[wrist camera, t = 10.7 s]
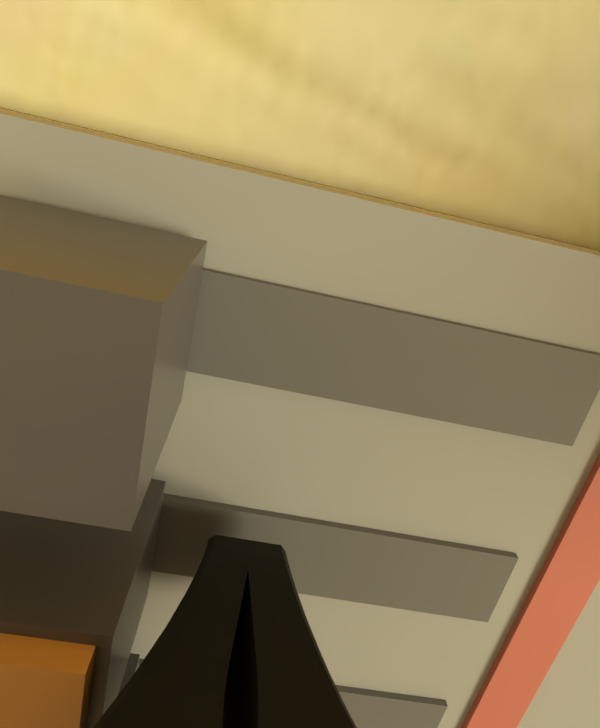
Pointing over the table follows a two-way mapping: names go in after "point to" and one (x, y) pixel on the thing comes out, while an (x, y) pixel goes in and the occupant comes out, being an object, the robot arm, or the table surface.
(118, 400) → the block
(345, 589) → the breaker panel
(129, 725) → the robot arm
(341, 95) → the table surface
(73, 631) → the breaker mid
